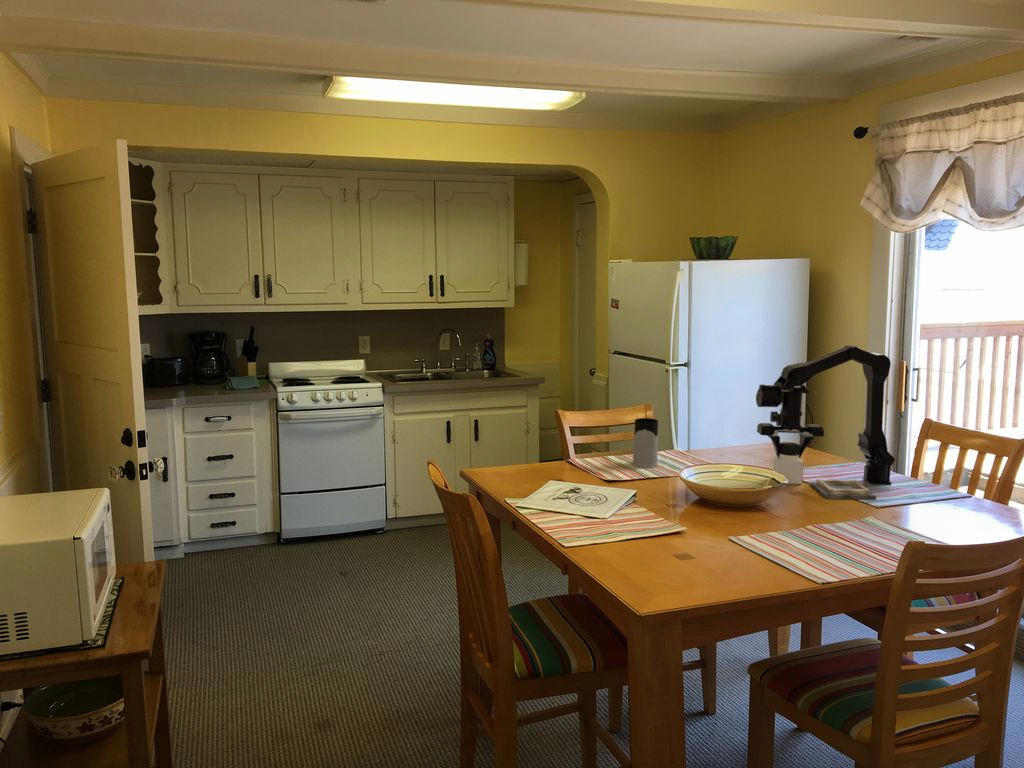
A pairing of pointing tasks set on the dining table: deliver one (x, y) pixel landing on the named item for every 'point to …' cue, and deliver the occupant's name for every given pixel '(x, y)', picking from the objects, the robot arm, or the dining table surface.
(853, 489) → the grey square tray
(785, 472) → the medicine bottle
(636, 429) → the glass holder
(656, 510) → the dining table surface
